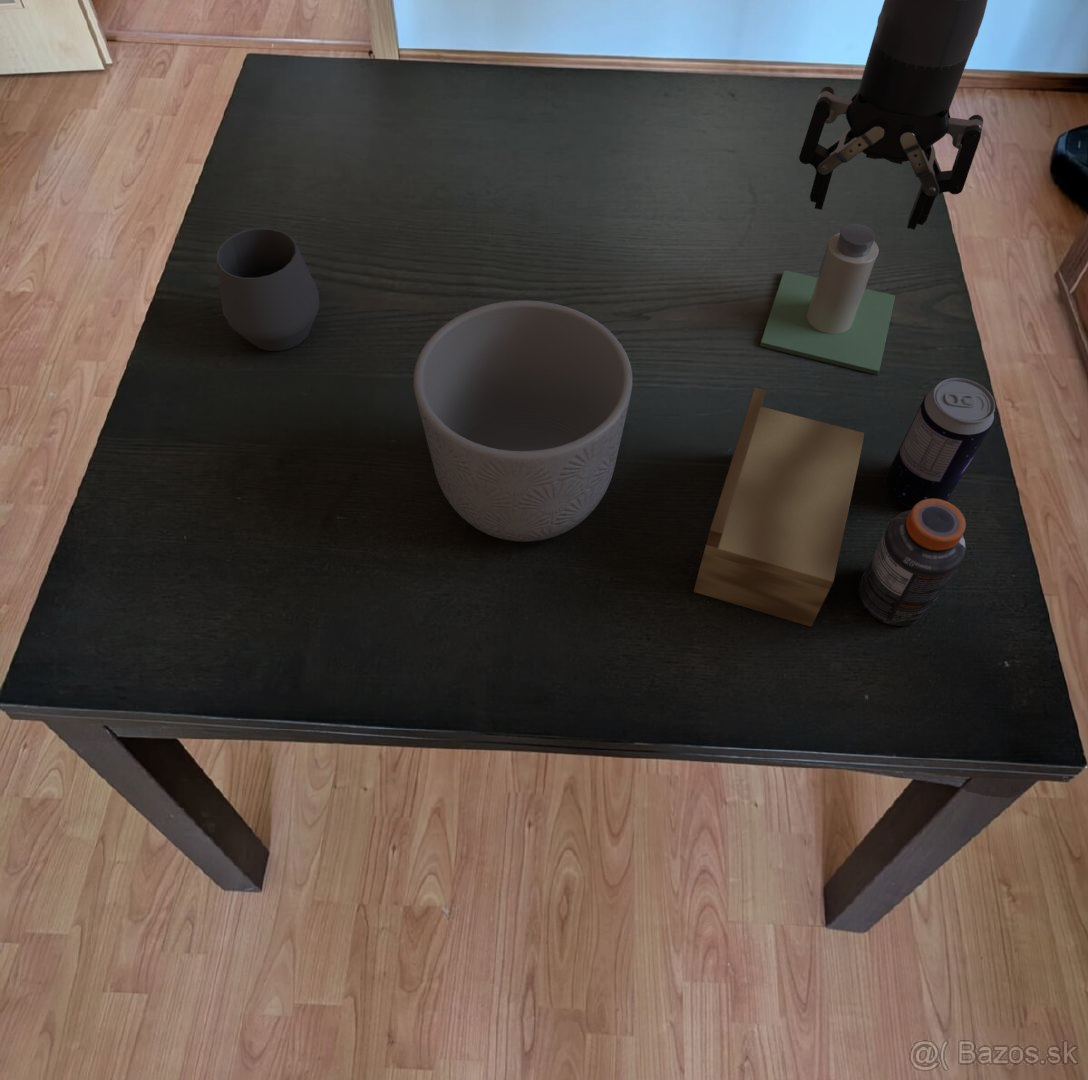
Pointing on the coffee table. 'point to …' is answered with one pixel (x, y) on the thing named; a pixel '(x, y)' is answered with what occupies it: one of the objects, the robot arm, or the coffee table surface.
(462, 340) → the planter
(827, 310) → the spice bottle
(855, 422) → the coffee table surface
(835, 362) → the mat
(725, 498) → the stepped wooden block
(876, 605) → the pill bottle
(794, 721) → the coffee table surface
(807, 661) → the coffee table surface
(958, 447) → the beverage can
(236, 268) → the cup
